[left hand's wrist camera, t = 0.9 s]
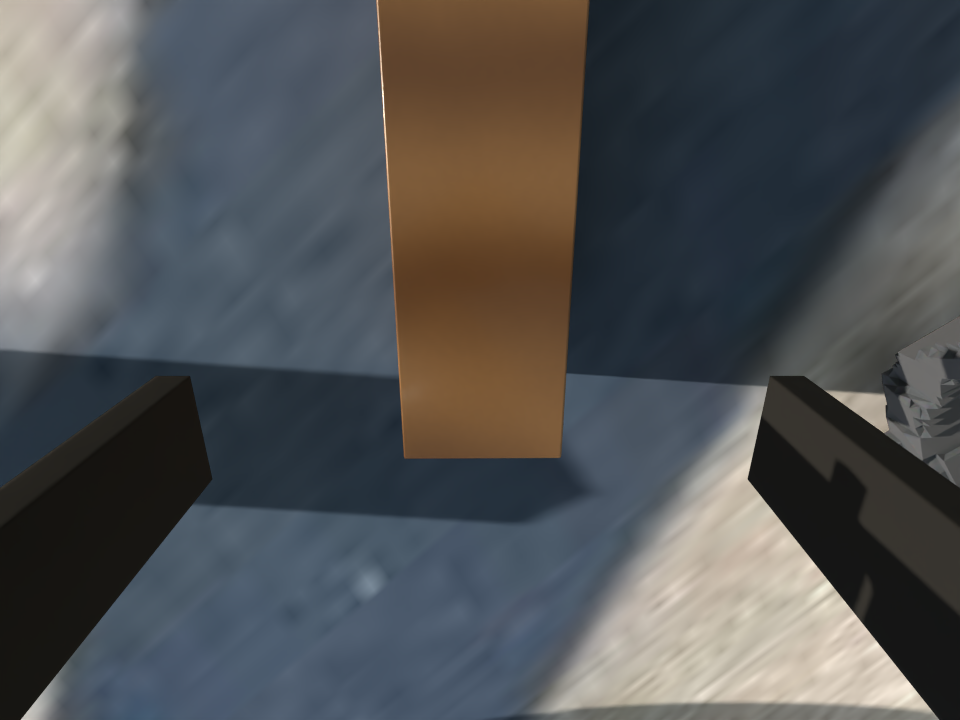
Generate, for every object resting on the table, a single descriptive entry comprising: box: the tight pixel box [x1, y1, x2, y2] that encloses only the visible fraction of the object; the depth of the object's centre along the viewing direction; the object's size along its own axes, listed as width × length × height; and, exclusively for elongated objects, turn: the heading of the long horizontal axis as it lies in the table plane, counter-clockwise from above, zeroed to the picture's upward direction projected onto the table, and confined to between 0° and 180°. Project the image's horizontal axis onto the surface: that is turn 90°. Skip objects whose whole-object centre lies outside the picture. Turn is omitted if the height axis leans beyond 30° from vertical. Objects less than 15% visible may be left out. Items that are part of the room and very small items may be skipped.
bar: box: [376, 0, 590, 459], centre depth 19 cm, size 22×6×9 cm, turn 0°
